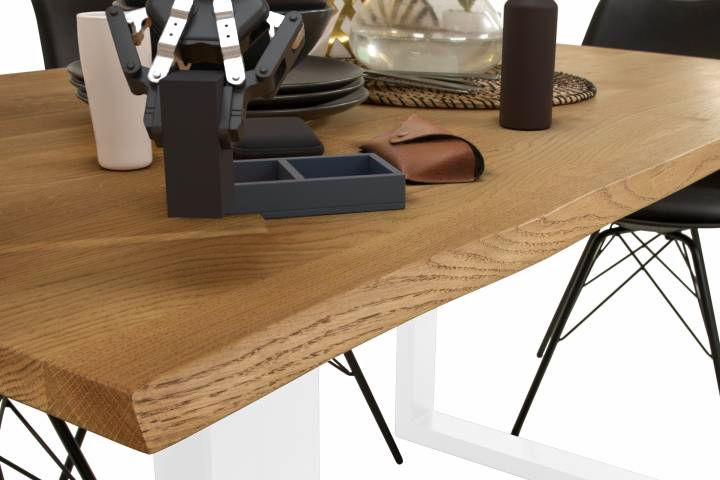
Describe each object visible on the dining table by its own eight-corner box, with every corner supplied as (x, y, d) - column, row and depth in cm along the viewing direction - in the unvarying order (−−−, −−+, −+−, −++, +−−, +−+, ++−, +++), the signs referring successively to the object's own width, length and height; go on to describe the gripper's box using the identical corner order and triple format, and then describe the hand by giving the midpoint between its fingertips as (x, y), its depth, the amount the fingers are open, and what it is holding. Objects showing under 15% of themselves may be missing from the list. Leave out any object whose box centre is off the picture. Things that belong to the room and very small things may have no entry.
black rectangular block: (167, 217, 67) (158, 79, 63) (183, 198, 71) (176, 69, 68) (222, 218, 67) (215, 81, 64) (235, 200, 71) (229, 70, 68)
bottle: (555, 123, 132) (564, -38, 125) (547, 132, 126) (556, -37, 119) (504, 119, 133) (511, -40, 127) (493, 128, 127) (500, -38, 120)
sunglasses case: (352, 145, 113) (381, 92, 112) (402, 173, 116) (431, 122, 115) (406, 181, 97) (440, 120, 96) (463, 212, 101) (496, 154, 100)
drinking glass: (80, 172, 100) (64, 15, 95) (105, 158, 106) (90, 10, 101) (148, 174, 100) (135, 17, 95) (168, 159, 106) (157, 12, 101)
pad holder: (405, 208, 90) (405, 174, 89) (194, 224, 83) (192, 187, 82) (374, 184, 98) (374, 152, 97) (180, 196, 92) (178, 163, 91)
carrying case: (214, 142, 115) (223, 171, 102) (212, 115, 114) (221, 141, 101) (307, 139, 118) (327, 167, 105) (306, 113, 117) (327, 138, 104)
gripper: (104, -102, 69) (64, 105, 62) (312, -95, 70) (296, 111, 62) (131, -24, 76) (97, 171, 68) (320, -18, 76) (307, 175, 69)
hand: (192, 141), depth 65 cm, fingers closed on black rectangular block, 3 cm apart
